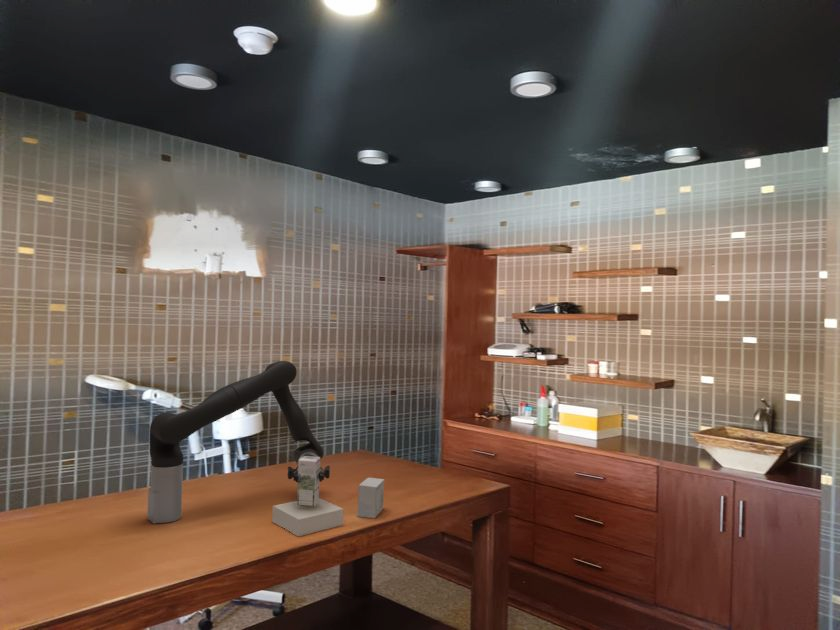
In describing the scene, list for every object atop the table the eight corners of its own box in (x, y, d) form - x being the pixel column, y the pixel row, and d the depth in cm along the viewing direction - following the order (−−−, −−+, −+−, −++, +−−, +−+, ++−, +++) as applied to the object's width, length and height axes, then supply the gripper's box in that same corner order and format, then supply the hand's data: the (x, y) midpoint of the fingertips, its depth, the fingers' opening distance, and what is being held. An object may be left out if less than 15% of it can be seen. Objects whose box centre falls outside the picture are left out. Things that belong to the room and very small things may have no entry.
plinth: (298, 536, 169) (298, 519, 169) (272, 521, 181) (272, 505, 181) (343, 524, 180) (343, 508, 180) (315, 511, 191) (316, 496, 191)
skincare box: (375, 518, 186) (376, 486, 186) (356, 517, 187) (357, 485, 188) (384, 509, 196) (384, 478, 197) (366, 507, 198) (367, 476, 198)
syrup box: (319, 501, 183) (320, 456, 183) (314, 507, 177) (315, 460, 177) (302, 500, 184) (303, 455, 184) (296, 506, 178) (297, 459, 178)
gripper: (287, 454, 193) (285, 467, 177) (330, 453, 196) (332, 466, 180) (286, 476, 193) (285, 491, 177) (329, 475, 196) (331, 490, 179)
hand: (309, 478), depth 178 cm, fingers closed on syrup box, 6 cm apart
